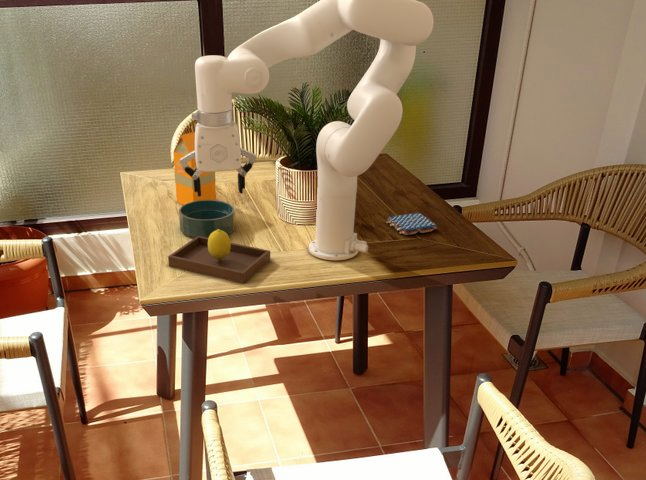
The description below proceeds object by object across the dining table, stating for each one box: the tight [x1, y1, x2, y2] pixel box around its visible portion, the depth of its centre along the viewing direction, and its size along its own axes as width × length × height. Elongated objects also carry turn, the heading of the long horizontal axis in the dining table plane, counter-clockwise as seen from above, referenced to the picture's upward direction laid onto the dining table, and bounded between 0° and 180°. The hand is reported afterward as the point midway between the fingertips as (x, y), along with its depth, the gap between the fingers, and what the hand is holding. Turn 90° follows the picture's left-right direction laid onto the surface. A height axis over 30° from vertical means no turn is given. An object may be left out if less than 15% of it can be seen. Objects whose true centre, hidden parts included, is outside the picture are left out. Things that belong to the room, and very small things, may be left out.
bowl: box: [178, 199, 236, 239], centre depth 195 cm, size 15×15×6 cm
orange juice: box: [172, 131, 217, 206], centre depth 208 cm, size 8×9×20 cm
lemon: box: [208, 229, 232, 260], centre depth 176 cm, size 6×6×8 cm
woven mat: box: [386, 212, 438, 236], centre depth 198 cm, size 10×11×2 cm
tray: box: [167, 236, 271, 284], centre depth 178 cm, size 21×14×3 cm
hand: (219, 193), depth 169 cm, fingers open, 9 cm apart
